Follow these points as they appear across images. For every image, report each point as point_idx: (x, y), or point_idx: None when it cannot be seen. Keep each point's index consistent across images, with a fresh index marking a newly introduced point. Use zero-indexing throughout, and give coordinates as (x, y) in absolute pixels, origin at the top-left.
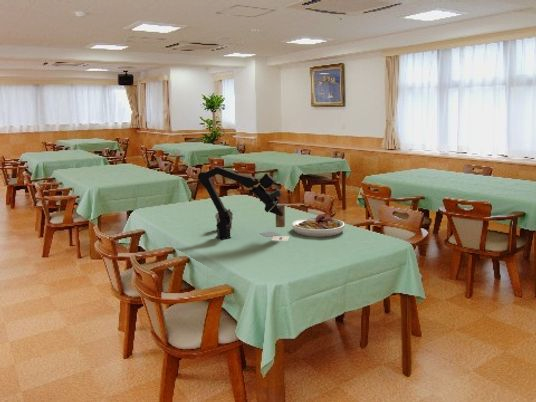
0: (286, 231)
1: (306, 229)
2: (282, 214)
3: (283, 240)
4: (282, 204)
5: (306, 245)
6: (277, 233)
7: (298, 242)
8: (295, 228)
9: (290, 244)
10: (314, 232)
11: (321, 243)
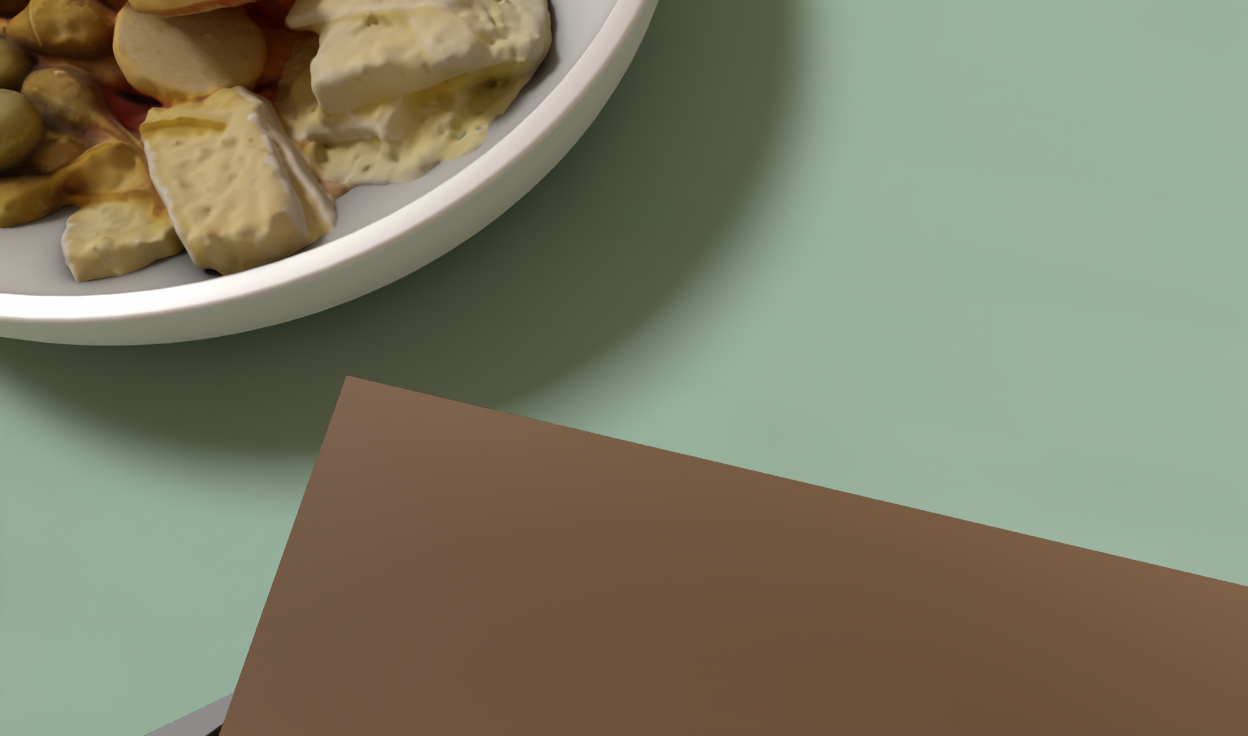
0: (45, 492)
1: (576, 106)
2: None
3: None
4: (688, 709)
5: (1123, 279)
6: (207, 727)
7: (924, 382)
8: (302, 303)
9: None
10: (652, 12)
11: (1000, 42)
